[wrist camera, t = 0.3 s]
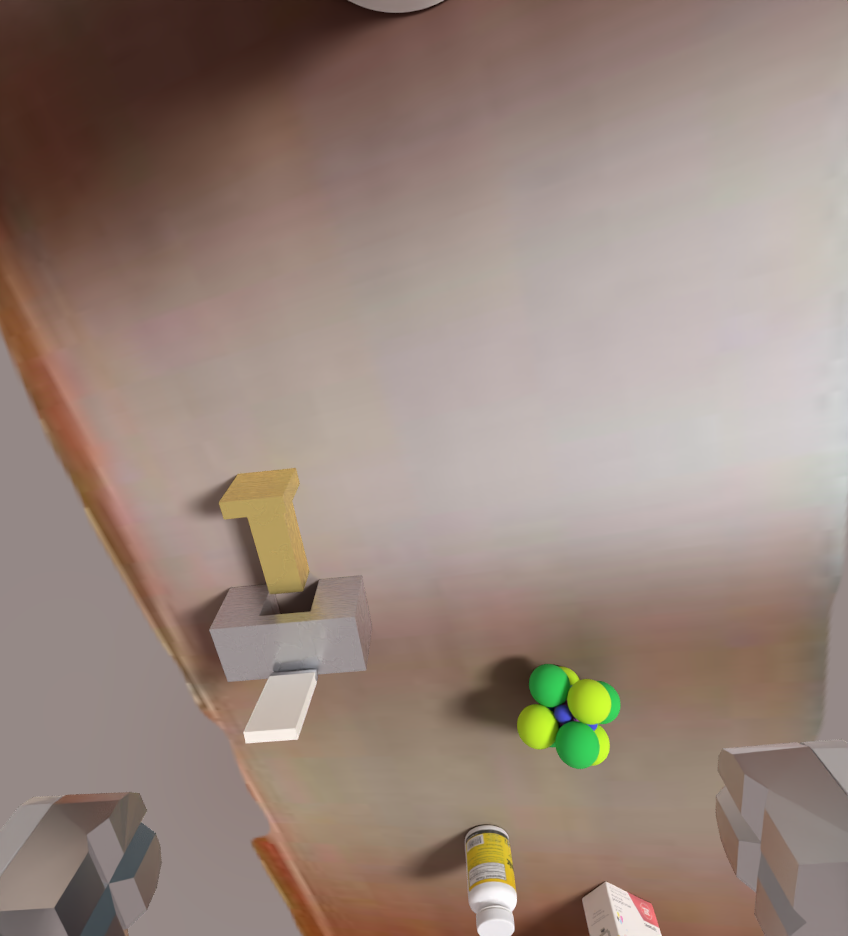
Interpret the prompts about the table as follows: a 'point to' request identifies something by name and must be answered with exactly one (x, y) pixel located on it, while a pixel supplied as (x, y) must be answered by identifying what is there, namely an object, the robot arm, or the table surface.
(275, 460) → the table surface
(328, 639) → the block
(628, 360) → the table surface
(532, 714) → the molecule model
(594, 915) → the ink cartridge box
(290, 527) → the lynch pin
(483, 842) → the supplement bottle
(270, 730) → the bar
